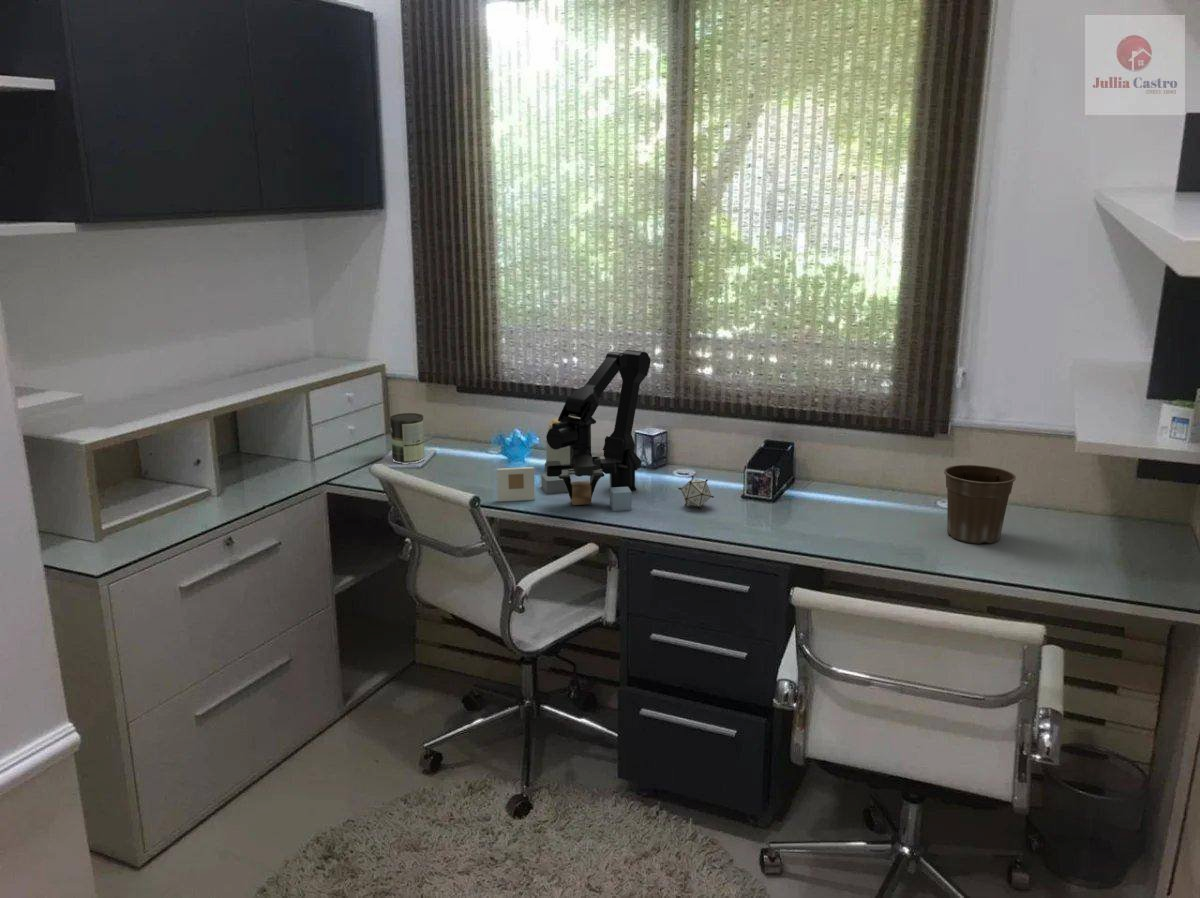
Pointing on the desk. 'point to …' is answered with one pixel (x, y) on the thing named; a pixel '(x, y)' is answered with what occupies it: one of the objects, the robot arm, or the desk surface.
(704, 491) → the game die
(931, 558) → the desk surface
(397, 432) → the coffee can
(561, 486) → the base block
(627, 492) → the slate blue cube
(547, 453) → the jar
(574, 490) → the walnut cube
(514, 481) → the plaque
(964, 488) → the plant pot
